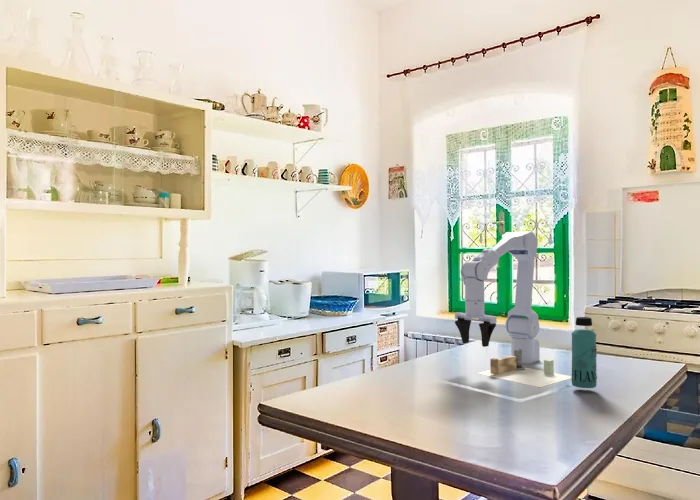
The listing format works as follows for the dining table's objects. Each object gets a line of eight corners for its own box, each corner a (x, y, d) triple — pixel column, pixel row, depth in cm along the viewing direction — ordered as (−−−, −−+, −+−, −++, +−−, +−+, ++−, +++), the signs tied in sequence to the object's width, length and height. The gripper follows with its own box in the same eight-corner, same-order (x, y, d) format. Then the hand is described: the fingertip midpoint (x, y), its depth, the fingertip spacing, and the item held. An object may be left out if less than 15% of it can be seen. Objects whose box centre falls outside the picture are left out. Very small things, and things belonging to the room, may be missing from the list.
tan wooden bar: (512, 368, 172) (512, 354, 172) (516, 369, 171) (516, 354, 171) (490, 373, 165) (490, 358, 165) (494, 374, 164) (494, 359, 164)
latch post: (547, 374, 167) (547, 359, 167) (553, 376, 166) (553, 360, 166) (543, 376, 166) (543, 360, 166) (549, 377, 165) (549, 361, 165)
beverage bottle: (569, 392, 148) (569, 318, 147) (572, 386, 154) (572, 315, 153) (596, 395, 145) (595, 319, 144) (598, 389, 150) (597, 316, 150)
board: (511, 367, 179) (511, 364, 178) (575, 379, 161) (575, 377, 161) (475, 375, 167) (475, 373, 167) (540, 390, 150) (540, 387, 150)
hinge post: (516, 369, 175) (516, 348, 175) (527, 371, 172) (527, 350, 172) (509, 371, 173) (508, 349, 173) (519, 373, 170) (519, 351, 170)
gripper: (447, 299, 171) (448, 343, 172) (485, 303, 160) (486, 349, 160) (462, 297, 176) (463, 340, 176) (500, 301, 164) (501, 346, 164)
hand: (475, 344), depth 168 cm, fingers open, 7 cm apart
